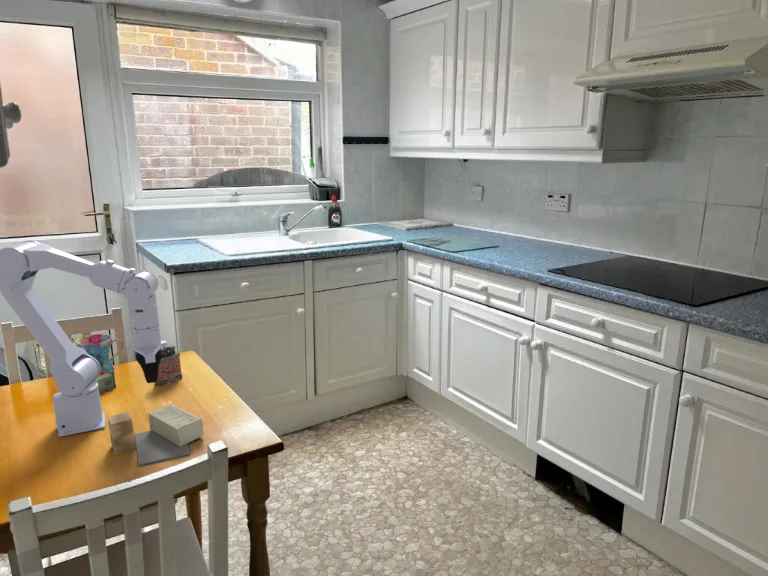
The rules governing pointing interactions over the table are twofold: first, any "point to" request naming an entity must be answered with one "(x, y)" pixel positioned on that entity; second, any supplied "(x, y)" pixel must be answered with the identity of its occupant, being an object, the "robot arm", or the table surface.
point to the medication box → (106, 382)
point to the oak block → (121, 433)
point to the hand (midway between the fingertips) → (151, 381)
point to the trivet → (157, 448)
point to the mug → (99, 350)
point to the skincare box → (176, 424)
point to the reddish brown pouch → (169, 366)
